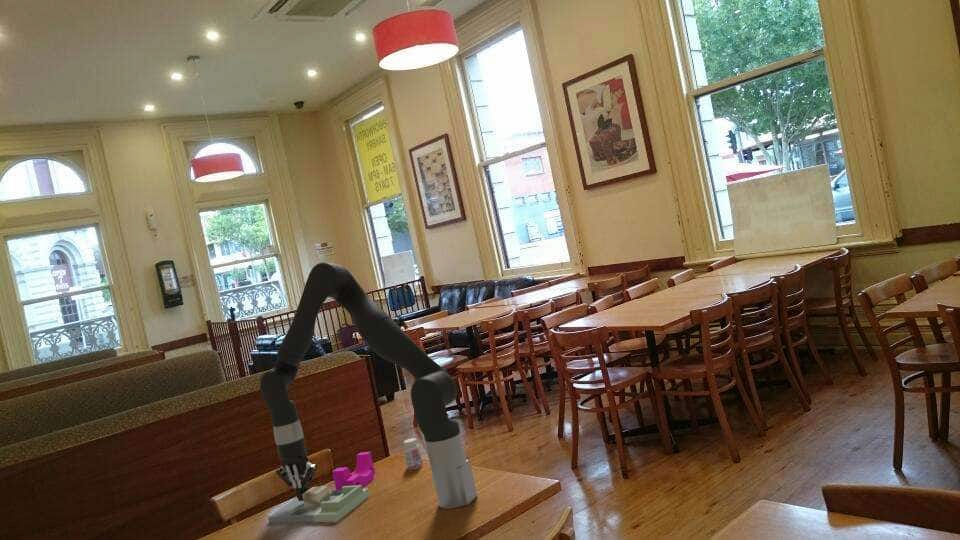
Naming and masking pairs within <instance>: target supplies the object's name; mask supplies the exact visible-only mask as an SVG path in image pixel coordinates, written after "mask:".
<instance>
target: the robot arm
mask: <svg viewBox="0 0 960 540" xmlns="http://www.w3.org/2000/svg"><path fill="white" fill-rule="evenodd" d="M328 298H332V299H333V300H335V301H336V302H337V303H338V304H339V305H340V306H341V307H342V308H344V309H345V310H346V312H347V313H348V314H349V315H350V317H351V319H352V321H353V323H354V327H355V328H356V331H357V333H358V335H359V336H360V338H361V339H362V340H363V341H364V342H365V344H366V345H367V346H368V347H370V349H371V350H372V351H373V352H374V353H375V354H377V356H379V357H380V358H382V359H384V360H386V361H388V362H390V363H392V364H394V365H396V366H399V367H401V369H403V370H404V371H405V370H406V371H407V372H408V373H409V374H410V375H411V376H413V377H414V378H415V379H416V380H415V381H414V382H412V385H411V389H410V399H411V404H412V408H413V413H414V415H415V419H416V422H417V426H418V428H419V431H420V432H421V433H422V435H423V439H424V443H425V447H426V452H427V457H428V461H429V466H430V471H431V474H432V475H431V476H432V479H433V485H434V489H435V493H436V498H437V503H438V506H439V508H441V509H444V510H450V509H452V510H453V509H456V508H461V507H464V506H465V507H466V506H469V505H470V504H471V503H472V502H473V501H474V500H475V499H476V497H478V492H477V487H476V483H475V479H474V474H473V470H472V464H471V460H470V459H467V457H466V452H465V447H464V443H463V439H462V434H461V433H462V432H461V429H460V425H459V422H458V421H457V420H456V419H450V418H449V417H448V414H447V411H446V406H448V405H450V404H452V403H453V402H454V401H455V400H456V398H457V396H458V388H457V384H456V381H455V379H454V378H453V376H452V375H450V373H449V372H448V371H446V369H444V368H443V366H441V365H440V364H438V363H437V362H436V361H435V360H434V359H433V358H431V357H430V356H429V355H428V354H426V352H424V350H422V349H421V347H419V346H418V345H417V343H416V342H415V341H414V340H413V339H412V338H411V337H409V335H407V333H405V331H404V330H403V329H402V328H401V327H400V325H398V323H397V322H396V321H394V319H393V318H392V317H391V316H390V315H389V314H388V313H387V312H385V311H384V309H383V308H382V307H381V306H380V305H379V304H378V303H376V302H375V300H373V299H372V297H371V296H369V295H368V294H367V293H366V292H365V290H364V289H363V288H362V286H361V285H360V284H359V283H358V281H357V280H356V279H355V277H354V276H353V275H352V273H351V272H350V271H349V269H347V268H346V267H345V266H343V265H341V264H338V263H332V262H327V261H326V262H325V261H324V262H318V263H317V264H316V265H314V266H313V267H312V268H311V270H310V271H309V273H308V277H307V279H306V282H305V284H304V289H303V291H302V294H301V297H300V300H299V303H298V306H297V309H296V312H295V313H294V317H293V319H292V322H291V324H290V326H289V327H288V329H287V332H286V334H285V336H284V338H283V340H282V341H281V343H280V346H279V348H278V350H277V352H276V356H277V358H276V360H275V362H274V364H273V366H272V368H270V369H269V370H268V369H267V371H265V372H264V373H263V374H262V375H261V377H260V379H259V389H260V392H261V396H262V398H263V400H264V402H265V404H266V406H267V408H268V410H269V414H270V419H271V424H272V428H273V437H274V441H275V445H276V450H277V454H278V455H277V456H278V458H279V460H280V461H281V462H280V465H281V466H280V467H279V468H278V469H276V470H275V472H276V475H278V477H279V478H281V480H282V481H283V483H285V485H286V486H287V487H289V488H290V487H292V488H294V490H295V495H296V498H298V500H299V501H303V497H302V494H303V493H305V492H306V491H308V487H307V485H308V484H310V483H311V482H312V481H313V479H314V475H315V473H316V471H317V468H318V465H317V463H311V462H310V459H309V458H308V456H307V450H308V449H307V445H306V441H305V435H304V432H303V427H302V424H301V421H300V418H299V414H298V409H297V405H296V403H295V402H294V400H292V399H290V396H289V395H288V389H289V388H290V387H291V386H292V384H293V383H294V381H295V379H296V376H297V374H298V371H299V369H300V365H301V363H302V361H303V359H304V357H305V356H306V353H307V352H308V350H309V347H310V345H311V344H312V341H313V338H314V335H315V330H316V329H315V328H316V321H317V317H318V314H319V312H320V309H321V307H322V306H323V305H324V303H325V301H326V300H327V299H328Z"/></svg>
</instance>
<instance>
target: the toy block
mask: <svg viewBox="0 0 960 540" xmlns="http://www.w3.org/2000/svg"><path fill="white" fill-rule="evenodd" d="M371 452H372V451H367V452H365V451H364V452H359V453H358V454H356V465H355V469H354V471H353V473H351V470H350V469H349V467H348V466H346V467H336V468H335V469H333V470H332V471H331V474H332V477H333V481H334V482H333V483H334V486H335V487H334V488H335V490H342V487H343V486H354V485H362V488H363V489H364V487H366V486H367V485H368V484H369V483H371V482H372V481H373V480H374V479H375V477H374V474H376V471H375V465H374V462H373V457H372V454H371Z"/></svg>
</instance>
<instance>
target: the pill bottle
mask: <svg viewBox="0 0 960 540" xmlns="http://www.w3.org/2000/svg"><path fill="white" fill-rule="evenodd" d="M403 446H404V448H403V451H404V458H405V461H406V468H407V469H408V470H416V469H417V470H418V469H420V468H422V467H423V465H424V463H423V457H422V454H421V449H420V445H419V444H418V440H417V438H416V437H412V438H408V439H405V440H404V441H403Z"/></svg>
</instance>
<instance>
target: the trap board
mask: <svg viewBox="0 0 960 540" xmlns="http://www.w3.org/2000/svg"><path fill="white" fill-rule="evenodd" d="M329 493H330V499H329V500H327V501H323V502H321V503H320V505H321V506H312V507H305V505H304V501H299V500H298V498H297V497H296V498H294V499H293V500H291V501H290V502H288V503H287V504H285V505H284V506H282V507H281V508H279V509H278V510H276V511H275V512H273V513H272V514H271V515H268V517H267V519H268V523H269V524H273V523H274V524H280V523H279V522H282V523H283V524H285V523H284V522H333V523H338V522H340V521H341V520H342V519H344V517H346V516H347V515H348V514H349V513H351V512H352V511H353V510H355V508H357V507H359V506H360V505H361V504H362V503H364V501H366V500H367V499H368V498H370V497H371V494H370V492H369V488H367V487H366V488H364V487H363V488H362V485H354V486H343V487H342V490H336V489H335V490H329ZM282 523H281V524H282Z"/></svg>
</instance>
